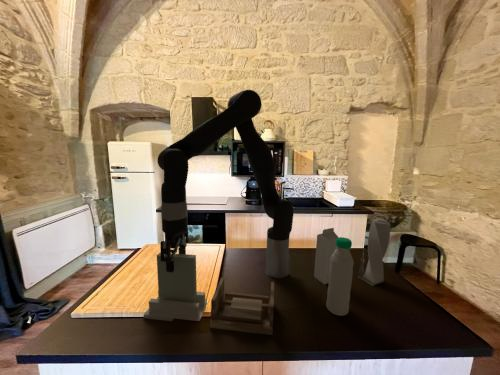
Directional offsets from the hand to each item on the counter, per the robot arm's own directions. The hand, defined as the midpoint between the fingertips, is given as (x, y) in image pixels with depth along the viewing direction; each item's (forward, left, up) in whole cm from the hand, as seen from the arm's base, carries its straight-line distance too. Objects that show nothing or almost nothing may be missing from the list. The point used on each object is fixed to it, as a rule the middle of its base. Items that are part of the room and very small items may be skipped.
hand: (176, 264), depth 70 cm
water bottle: (-45, +28, -16) cm, 56 cm away
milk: (-56, +14, -16) cm, 60 cm away
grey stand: (0, 0, -16) cm, 16 cm away
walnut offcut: (-15, +16, -15) cm, 27 cm away
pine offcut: (-16, +17, -12) cm, 26 cm away
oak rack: (-17, +14, -16) cm, 27 cm away
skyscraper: (-73, +25, -16) cm, 79 cm away
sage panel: (0, 0, -15) cm, 15 cm away
